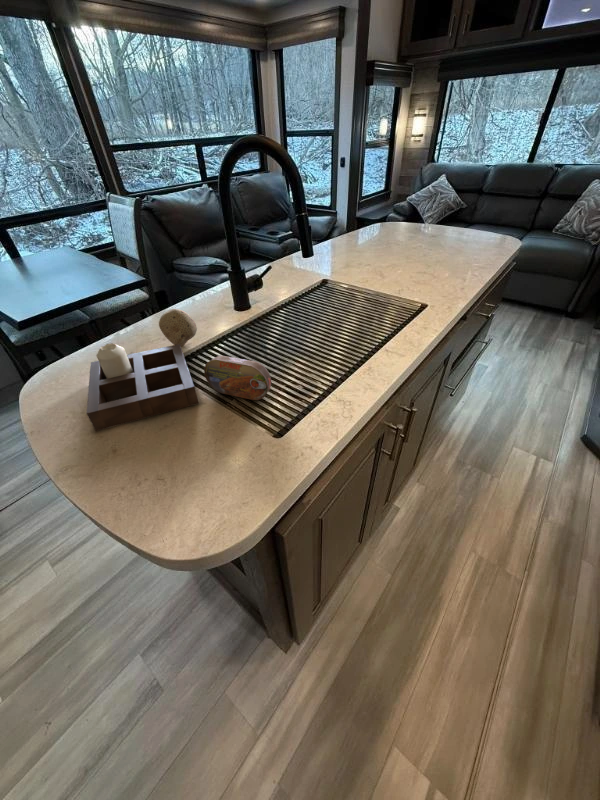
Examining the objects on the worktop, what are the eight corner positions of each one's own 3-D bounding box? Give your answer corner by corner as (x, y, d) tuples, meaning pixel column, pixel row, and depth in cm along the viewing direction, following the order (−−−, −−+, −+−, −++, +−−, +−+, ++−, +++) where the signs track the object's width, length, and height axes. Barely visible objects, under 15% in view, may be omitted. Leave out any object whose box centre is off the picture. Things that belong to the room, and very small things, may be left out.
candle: (131, 392, 74) (115, 353, 68) (106, 392, 74) (88, 353, 68) (140, 377, 78) (126, 340, 72) (117, 378, 78) (101, 340, 72)
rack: (95, 431, 64) (86, 413, 61) (98, 378, 78) (90, 362, 75) (198, 403, 70) (194, 386, 67) (183, 359, 84) (179, 343, 82)
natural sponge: (192, 333, 96) (185, 300, 89) (205, 346, 90) (197, 311, 84) (161, 343, 91) (151, 308, 85) (172, 356, 86) (161, 320, 79)
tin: (207, 390, 74) (199, 357, 69) (214, 382, 76) (207, 350, 71) (268, 404, 70) (265, 370, 65) (274, 395, 72) (271, 362, 67)
